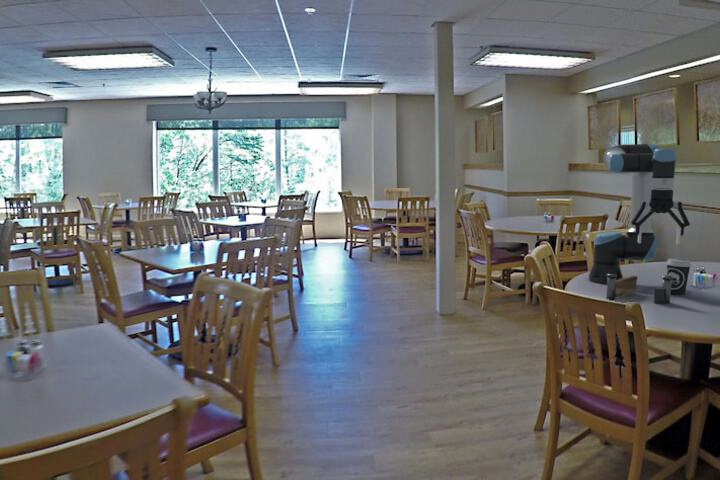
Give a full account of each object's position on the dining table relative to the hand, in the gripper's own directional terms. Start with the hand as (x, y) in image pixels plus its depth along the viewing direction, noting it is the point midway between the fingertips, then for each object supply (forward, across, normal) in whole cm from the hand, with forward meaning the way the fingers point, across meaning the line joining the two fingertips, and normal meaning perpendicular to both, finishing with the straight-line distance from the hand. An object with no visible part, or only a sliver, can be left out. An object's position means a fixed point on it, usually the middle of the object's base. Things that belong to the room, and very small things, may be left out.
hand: (658, 243), depth 217 cm
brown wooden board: (+25, -9, +14) cm, 30 cm away
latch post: (+25, +4, +7) cm, 27 cm away
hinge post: (+26, -15, +6) cm, 30 cm away
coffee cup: (+26, +13, +24) cm, 37 cm away
